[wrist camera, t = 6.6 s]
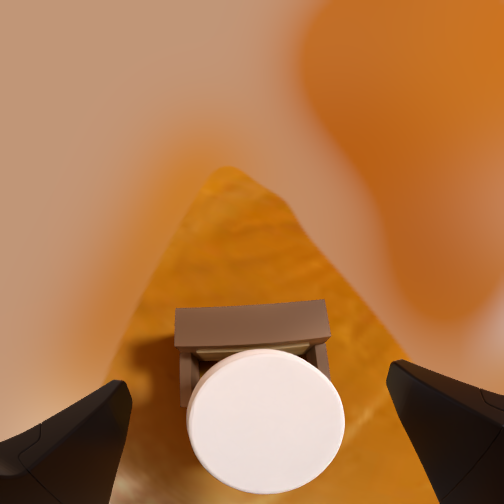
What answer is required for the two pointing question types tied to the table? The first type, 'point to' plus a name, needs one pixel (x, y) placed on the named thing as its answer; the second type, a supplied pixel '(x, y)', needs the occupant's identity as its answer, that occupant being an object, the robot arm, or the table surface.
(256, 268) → the table surface
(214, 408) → the supplement bottle
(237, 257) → the table surface
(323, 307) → the bracket
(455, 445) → the robot arm
